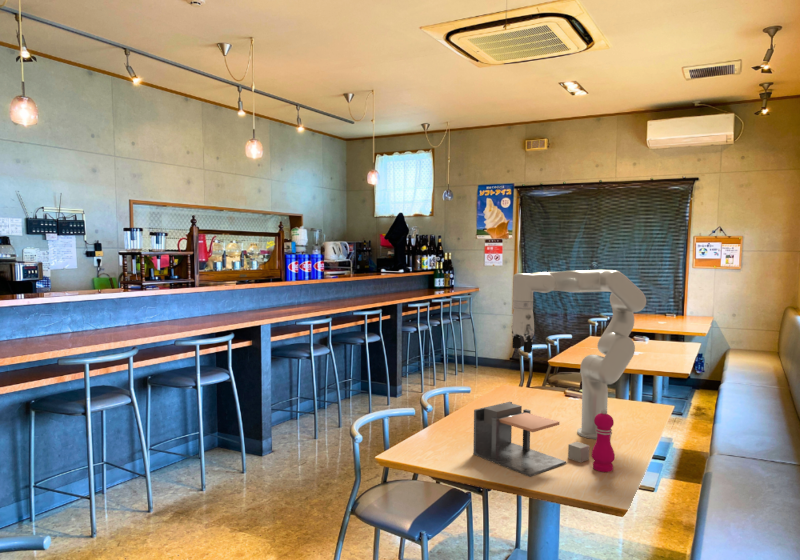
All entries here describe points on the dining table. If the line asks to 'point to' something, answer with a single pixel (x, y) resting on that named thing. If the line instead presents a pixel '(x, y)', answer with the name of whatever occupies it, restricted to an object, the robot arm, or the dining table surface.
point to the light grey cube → (578, 451)
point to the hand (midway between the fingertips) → (521, 350)
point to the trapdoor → (517, 417)
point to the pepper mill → (603, 443)
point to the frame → (508, 447)
